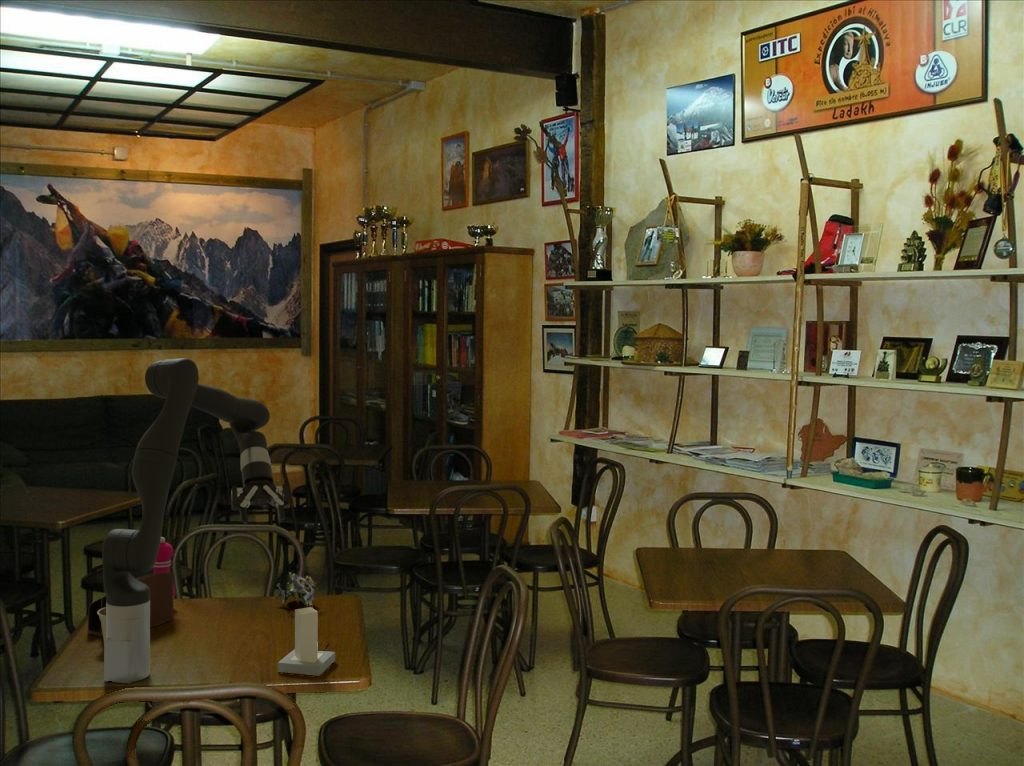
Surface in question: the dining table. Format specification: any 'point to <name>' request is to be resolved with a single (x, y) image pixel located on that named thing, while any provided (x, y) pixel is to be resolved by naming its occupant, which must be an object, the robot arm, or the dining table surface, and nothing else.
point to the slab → (306, 663)
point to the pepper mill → (164, 558)
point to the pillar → (306, 633)
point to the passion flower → (298, 589)
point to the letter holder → (158, 602)
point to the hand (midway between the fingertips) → (263, 521)
